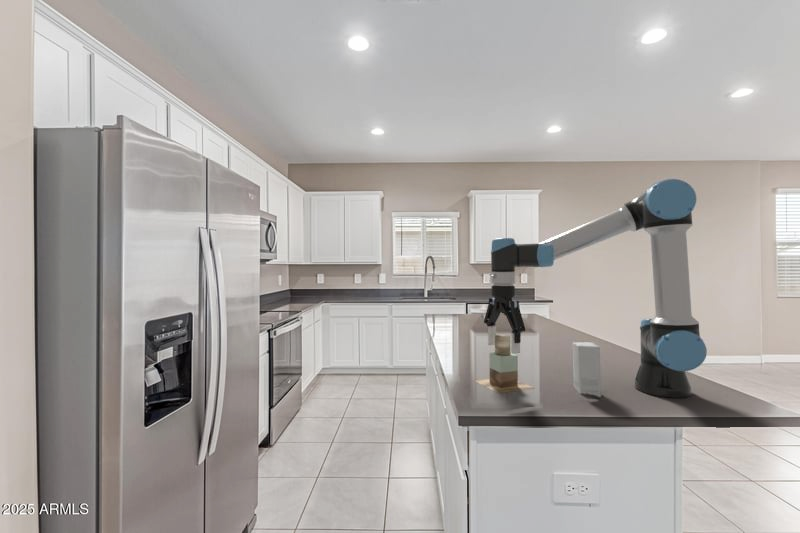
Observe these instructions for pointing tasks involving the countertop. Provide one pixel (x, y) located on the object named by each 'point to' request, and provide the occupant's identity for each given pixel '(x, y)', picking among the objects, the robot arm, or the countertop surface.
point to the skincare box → (586, 368)
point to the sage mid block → (504, 362)
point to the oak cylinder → (502, 345)
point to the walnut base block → (503, 378)
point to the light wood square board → (499, 390)
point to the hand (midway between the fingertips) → (503, 349)
